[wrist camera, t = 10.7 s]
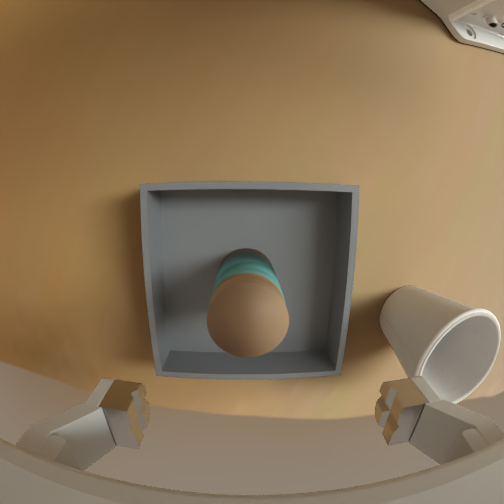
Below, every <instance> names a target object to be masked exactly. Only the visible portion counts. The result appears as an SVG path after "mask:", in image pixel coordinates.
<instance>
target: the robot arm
mask: <svg viewBox="0 0 504 504" xmlns="http://www.w3.org/2000/svg"><path fill="white" fill-rule="evenodd" d="M421 1H422V2H423V3H424V4H425V5H427V6H428V7H429V8H430V9H431V10H432V11H434V12H435V13H436V14H437V15H438V16H439V17H440V18H441V19H442V21H443V22H444V24H445V25H446V27H447V28H448V29H449V31H450V32H451V34H452V35H453V36H454V37H455V38H456V39H457V40H458V41H459V42H461V43H465V44H470V45H474V46H478V47H482V48H486V49H490V50H494V51H497V52H501V53H504V0H421ZM380 393H381V395H382V396H381V397H380V398H379V399H378V400H377V402H376V406H375V418H376V421H377V423H378V425H379V426H381V427H383V428H384V429H383V432H382V434H383V436H384V438H385V440H386V443H387V445H394V444H399V443H404V442H409V443H411V444H412V445H413V446H415V447H416V448H417V449H419V450H420V451H422V452H423V453H424V454H426V455H427V456H429V457H430V458H432V459H433V460H435V461H436V462H438V463H439V464H440V465H438V466H435V467H433V468H429V469H426V470H422V471H419V472H416V473H412V474H408V475H405V476H401V477H397V478H393V479H389V480H385V481H380V482H375V483H371V484H365V485H360V486H354V487H348V488H341V489H335V490H327V491H318V492H309V493H297V494H280V495H279V494H278V495H227V494H208V493H197V492H186V491H179V490H171V489H164V488H157V487H151V486H146V485H140V484H135V483H130V482H126V481H120V480H117V479H112V478H108V477H104V476H101V475H97V474H93V473H90V472H86V471H84V470H85V469H87V468H88V467H89V466H91V465H92V464H93V463H95V462H96V461H98V460H99V459H100V458H102V457H103V456H104V455H106V454H107V453H108V452H110V451H111V450H112V449H114V448H115V447H116V446H122V447H128V448H135V449H139V448H140V445H141V442H142V440H143V437H144V435H143V431H142V430H144V429H145V428H147V426H148V424H149V419H150V407H149V403H148V402H147V401H146V400H145V399H144V397H145V395H146V389H145V385H143V384H142V383H135V382H129V381H123V380H115V379H110V378H102V379H101V380H100V381H99V383H98V384H97V386H96V387H95V389H94V390H93V392H92V393H91V395H90V396H89V398H88V399H87V401H86V402H85V404H83V403H80V404H78V405H75V406H73V407H71V408H69V409H67V410H64V411H62V412H60V413H57V414H55V415H53V416H51V417H48V418H46V419H44V420H41V421H39V422H37V423H35V424H32V425H30V426H29V427H28V429H27V430H26V431H25V433H24V434H23V435H22V437H21V438H20V439H19V441H18V442H17V443H16V445H13V444H11V443H9V442H7V441H5V440H3V439H1V438H0V504H504V433H503V431H502V430H501V429H500V428H499V426H498V425H497V424H496V423H495V422H494V421H493V419H490V418H488V417H485V416H483V415H480V414H478V413H475V412H473V411H470V410H468V409H466V408H463V407H461V406H458V405H456V404H454V403H451V402H449V401H447V400H444V399H443V400H440V399H439V397H438V396H437V395H436V393H435V392H434V391H433V389H432V388H431V387H430V386H429V384H428V383H427V382H426V381H425V379H424V378H423V377H422V376H416V377H410V378H407V379H401V380H394V381H388V382H383V384H382V385H381V388H380Z"/></svg>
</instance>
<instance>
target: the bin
mask: <svg viewBox="0 0 504 504" xmlns="http://www.w3.org/2000/svg"><path fill="white" fill-rule="evenodd" d="M140 206H141V234H142V252H143V267H144V279H145V291H146V301H147V310H148V319H149V327H150V335H151V343H152V350H153V357H154V363H155V370H156V376H165V377H179V378H199V379H289V378H308V377H323V376H335V375H341V369H342V363H343V357H344V351H345V344H346V337H347V330H348V323H349V315H350V307H351V298H352V289H353V279H354V268H355V256H356V243H357V227H358V207H359V186H357V185H341V184H321V183H296V182H244V181H223V182H171V183H147V184H140ZM242 248H251V249H255V250H258V251H260V252H261V253H263V254H264V255H265V256H266V257H267V258H268V259H269V260H270V262H271V264H272V267H273V269H274V271H275V273H276V276H277V279H278V282H279V284H280V287H281V290H282V293H283V296H284V299H285V304H286V307H287V310H288V314H289V326H288V330H287V333H286V335H285V337H284V339H283V340H282V342H281V343H280V344H279V345H278V346H277V347H276V348H274V349H273V350H272V351H270V352H268V353H266V354H264V355H261V356H257V357H238V356H234V355H232V354H229V353H227V352H225V351H224V350H222V349H221V348H220V347H218V346H217V345H216V344H215V342H214V341H213V340H212V338H211V336H210V334H209V332H208V328H207V312H208V309H209V303H210V298H211V295H212V291H213V287H214V284H215V280H216V277H217V274H218V271H219V269H220V265H221V263H222V261H223V260H224V258H225V257H226V256H227V255H228V254H230V253H231V252H233V251H235V250H238V249H242Z"/></svg>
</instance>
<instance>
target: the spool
mask: <svg viewBox="0 0 504 504" xmlns="http://www.w3.org/2000/svg"><path fill="white" fill-rule="evenodd" d="M288 326H289V314H288V310H287V307H286V304H285V299H284V296H283V293H282V290H281V287H280V284H279V282H278V279H277V276H276V273H275V271H274V269H273V267H272V264H271V262H270V260H269V259H268V258H267V257H266V256H265V255H264V254H263V253H261V252H260V251H258V250H255V249H251V248H242V249H238V250H235V251H233V252H231V253H230V254H228V255H227V256H226V257H225V258H224V260H223V261H222V263H221V265H220V269H219V271H218V274H217V277H216V280H215V284H214V287H213V291H212V295H211V298H210V303H209V309H208V312H207V328H208V332H209V334H210V336H211V338H212V340H213V341H214V342H215V344H216V345H217V346H218V347H220V348H221V349H222V350H224V351H225V352H227V353H229V354H232V355H234V356H238V357H257V356H261V355H264V354H266V353H268V352H270V351H272V350H273V349H274V348H276V347H277V346H278V345H279V344H280V343H281V342H282V340H283V339H284V337H285V335H286V333H287V330H288Z"/></svg>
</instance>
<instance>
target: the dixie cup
mask: <svg viewBox="0 0 504 504" xmlns="http://www.w3.org/2000/svg"><path fill="white" fill-rule="evenodd" d="M380 326H381V329H382V331H383V333H384V335H385V336H386V338H387V340H388V342H389V343H390V345H391V347H392V349H393V350H394V352H395V354H396V356H397V358H398V360H399V361H400V363H401V365H402V367H403V369H404V371H405V372H406V374H407V376H408V378H410V377H416V376H422V377H423V378H424V379H425V381H426V382H427V383H428V384H429V386H430V387H431V388H432V389H433V391H434V392H435V393H436V395H437V396H438V397H439V399H440V400H443V399H444V400H447V401H449V402H451V403H454V404H456V403H458V402H460V401H461V400H463V399H464V398H466V397H467V396H468V395H470V394H471V393H472V392H473V391H474V390H475V389H476V388H477V387H478V386H479V385H480V384H481V383H482V381H483V380H484V379H485V377H486V376H487V374H488V373H489V371H490V370H491V368H492V366H493V364H494V362H495V359H496V357H497V354H498V350H499V346H500V337H501V333H500V326H499V322H498V320H497V318H496V317H495V315H494V314H493V313H491V312H490V311H488V310H486V309H480V308H477V309H475V308H473V307H470V306H467V305H465V304H462V303H460V302H457V301H454V300H452V299H449V298H447V297H444V296H441V295H439V294H436V293H433V292H431V291H428V290H425V289H423V288H420V287H418V286H413V285H408V286H404V287H401V288H399V289H397V290H396V291H395V292H393V293H392V294H391V295H390V296H389V297H388V299H387V300H386V301H385V303H384V305H383V307H382V310H381V313H380Z"/></svg>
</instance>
